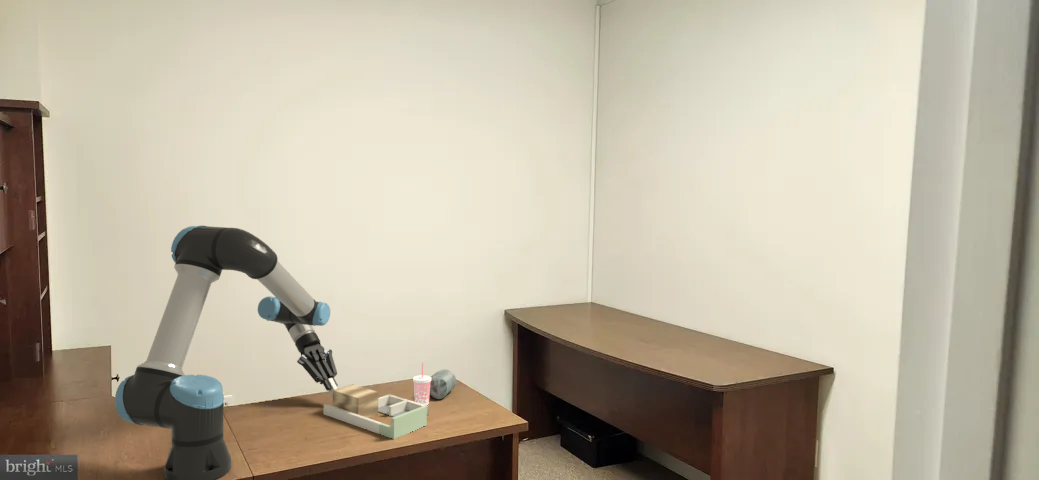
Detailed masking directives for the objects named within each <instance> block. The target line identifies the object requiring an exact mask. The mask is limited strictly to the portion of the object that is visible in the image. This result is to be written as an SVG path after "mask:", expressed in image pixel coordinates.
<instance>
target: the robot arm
mask: <svg viewBox="0 0 1039 480" xmlns="http://www.w3.org/2000/svg"><path fill="white" fill-rule="evenodd" d="M170 252H171V253H172V254H171V259H172V261H173V262H174V267H173V268H174V269H175V272H176V273H177V277H176V279H175V282H174V285H173V287H172V290H171V293H170V295H169V298H168V300H167V304H166V306H165V309H164V311H163V314H162V317H161V320H160V322H159V325H158V327H157V331H156V333H155V336H154V339H153V341H152V345H151V347H150V350H149V352H148V355H147V358H146V360H145V361H144V362H143V363H141V364H139V365H137V366H136V368H135V371H134V374H131V375H130V376H127V377H126V378H124V380H122V381H121V382H120V383H119V384H118V386H117V389H116V392H115V396H114V406H115V409H116V411H117V414H118V416H119V417H120V418H121V419H122V420H124V421H125V422H127V423H130V424H131V423H132V424H134V425H139V426H149V427H154V428H155V427H156V428H164V429H170V430H171V447H170V448H169V452H168V455H167V458H166V462H165V465H164V468H163V473H164V479H165V480H217V479H219V478H221V477H223V476H224V475H227V474H228V473H229V472H230V471H231V469H232V457H231V454H230V451H229V449H228V446H227V443H226V441H225V438H224V402H225V401H224V400H225V397H224V390H223V388H224V387H223V384H222V383H221V382H220V380H218V379H217V378H215V377H213V376H211V375H206V374H196V375H194V374H185V372H184V371H183V367H184V363H185V360H186V357H187V355H188V351H189V349H190V347H191V346H190V345H191V344H192V340H193V337H194V335H195V332H196V329H197V326H198V323H199V320H200V318H201V317H200V316H201V314H202V311H203V308H204V306H205V302H206V300H207V297H208V293H209V291H210V289H211V286H212V284H213V283H216V282H217V281H218V280H219V279H220V278H221V274H222V272H223V270H224V271H235V272H240V273H243V274H245V275H246V276H247V277H249V278H251V279H252V280H257V281H258V282H259V283H260V284H261V285H262V286H263V287H264V288H266V289H267V290H268V291H269V292H270V293H271V294H272V295H273V296H265V297H263V298H262V299H261V300H260V301H259V302H258V305H257V313H258V315H259V317H260V318H262V319H263V320H265V321H267V322H269V321H270V322H275V323H279V324H282V325H284V327H285V328H286V331H288V334H289V335H290V338H291V340H292V341H293V343H294V345H295V347H296V349H297V351H298V353H300V356H299V358H298V359H297V360H296V363H297V364H299V365H300V366H301V367H303V369H304V370H305V371H306V372H307V373H308V374H309V376H310V377H311V378H312V380H313V381H314V382H315V383H316V384H320V385H322V386H323V387H324V388H325V390H326V391H327V392H329V394H330V396H331V399H333V390H335V389H338V388H339V387H338V386H339V385H338V383H337V381H336V379H335V377H336V376H337V375H338V371H337V367H336V364H335V360H334V357H333V350H332V349H331V348H329V349H328V350H327V349H325V348H324V346H323V345H322V344H321V339H320V338H319V336H318V334H317V333H316V331H315V328H314V327H316V326H317V327H318V326H321V327H322V326H325V325H326V324H327V323H328V322H329V320H330V317H331V308H330V305H329V304H328V303H327V302H322V301H316V299H314V298H313V297H312V296H311V295H310V293H309V292H308V291H307V290H306V289H305V288H304V287H303V286H302V285H301V284H300V282H298V281H297V280H296V278H294V277H293V276H292V275H291V273H290V272H289V271H288V270H287V269H286V268H285V267H284V266H283V264H281V263H280V261H278V260H279V257H278V256H277V254H276V252H275V251H274V250H273V249H272V248H271V247H270V246H269V245H268V244H267V243H265V242H264V241H263V240H262V239H260V238H259V237H257V236H256V235H254V234H252V233H251V232H249V231H247V230H244V229H242V228H238V227H224V226H223V227H222V226H209V225H208V226H207V225H191V226H187V227H185V228H183V229H181V230H180V231H179V232H178V233H177V234H176V235H175V237H174V239H173V240H172V243H171V247H170Z"/></svg>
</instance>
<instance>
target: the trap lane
mask: <svg viewBox="0 0 1039 480" xmlns="http://www.w3.org/2000/svg"><path fill="white" fill-rule="evenodd" d="M379 412H380V414H382V413H383V415H385V414H386V415H385V416H388V415H389V417H391V419H390V421H391V422H390V424H391V425H390V424H387V423H384V422H380V421H377V420H375V419H372V418H367V417H364V416H361V415H358V414H355V413H352V412H349V411H346V410H343V409H340V408H337V407H334V406H333V404H332V405H331V404H329V403H326V404H323V415H325V416H327V417H331V418H334V419H336V420H338V421H342V422H344V423H346V424H350V425H352V426H356V427H359V428H360V429H364V430H366V429H367V430H366V431H369V432H371V433H375V434H378V435H380V434H381V436H383V435H384V437H387V438H389V439H391V438H392V439H391V440H395V439H396V440H397V439H398V437H399V438H402V437H403V436H406V435H408V434H410V432H411V433H413V432H415V430H416V431H418V430H420V429H419V428H421V427H423V426H425V427H427V426H426V425H427V422H428V420H427V419H428V418H427V417H428V416H429V405H428V406H427V405H423V404H420V403H417V402H415V400H414V401H413V400H409V399H407V398H403V397H401V396H400V397H399V396H398V395H397V396H396V395H393V394H390V393H388V394H386V395H383V396H380V397H378V413H379ZM427 415H428V416H427ZM423 428H424V427H423ZM417 429H418V430H417ZM421 429H422V428H421ZM412 431H413V432H412Z"/></svg>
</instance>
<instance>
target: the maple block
mask: <svg viewBox="0 0 1039 480" xmlns="http://www.w3.org/2000/svg"><path fill="white" fill-rule="evenodd" d="M337 388H338V389H335V390H333V398H332V406H334V407H337V408H340V409H343V410H346V411H349V412H352V413H355V414H358V415H361V416H364V417H367V418H369V419H371V418H373V417H376V416H378V415H379V412H378V398H379V391H376V390H374V389H373V390H372V389H370V388H366V387H363V386H360V385H357V384H348V385H346V386H342V387H337Z"/></svg>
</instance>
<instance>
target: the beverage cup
mask: <svg viewBox="0 0 1039 480" xmlns="http://www.w3.org/2000/svg"><path fill="white" fill-rule="evenodd" d="M431 377H432V376H430V375H427V374H426V375H425V374H424V362H421V374H420V375H415V376H413V377H412V380H413V389H414V390H413V393H414V394H413V395H414V402H417V403H420V404H423V405H428V404H430V396H431V395H430V383H431V379H432V378H431ZM428 406H429V405H428Z"/></svg>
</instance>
